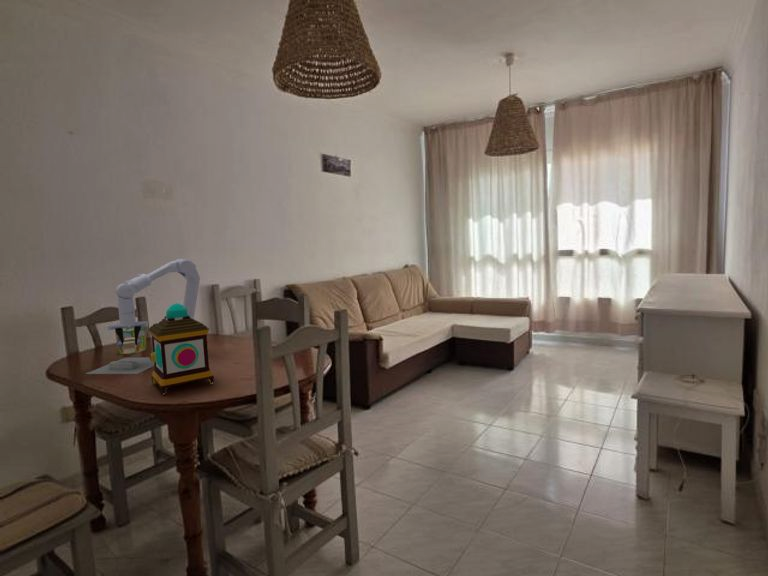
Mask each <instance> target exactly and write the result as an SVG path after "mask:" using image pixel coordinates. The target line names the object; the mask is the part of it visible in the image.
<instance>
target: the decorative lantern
mask: <svg viewBox="0 0 768 576" xmlns="http://www.w3.org/2000/svg"><path fill="white" fill-rule="evenodd" d="M194 319H195V318H194ZM194 319H192V318H190V316H189V315H188V313H187V309H186V308H185V307H184V306H183V304H181V303H179V302H175V303H173V304H171V305H170V306H169V307H168V308H167V310H166V315H165V316H164V318H162V319H161V320H160V321H159V322H158V323H156V322H155V323H154V324H153V323H152V325H151V326H150V327H149V328H147V330H148V333H149V335H150V336H151V345H152V352H151V353H150V354H149V357H150V360H151V361H152V362H154V366H153V367H154V369H153V371H152V374H151V382H152V384H153V383H156V384H157V385H158V386H159V388H160V391H161V392H160V393H161V395H162V394H163V393H166V394H167V389H168V388H170V387H175V386H181V385H185V384H190V383H195V382H200V381H203V380H208V383H209V382H210V383H212V382H214V383H215V378H214V374H213V372H212V370H211V369H210V364H209V353H208V352H209V350H210V344H209V341H208V333H209V332H210V328H209V327H207V325H206V324H204V323H203V322H200V321H198V320H196V319H195V320H194Z"/></svg>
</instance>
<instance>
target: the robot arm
mask: <svg viewBox="0 0 768 576" xmlns="http://www.w3.org/2000/svg"><path fill="white" fill-rule="evenodd" d="M170 273H178V274H179V275H181V276H182V277H183V278H184V279H185V280H186V285H185V291H184V297H183V304H182V305H183V306H184V307H185V308H186V309H187V313H188V315H189V316H190V318H192V319H194V320H196V319H195V312H196V307H197V300H198V293H199V288H200V287H199V286H200V279H201V277H200V274H199V272H198V270H197V265H196V264H195V263H194V262H193V261H192V260H191V259H188V258H177V259H175V260H172V261H169V262H168V263H166V264H164V265H161V267H158V268H157V269H155V270H154V271H153V270H152V271H151V272H150V273H147V274H145V273H141V274H140V273H138V274H136V275H135V276H136V277H133V278H132V279H130V280H129V279H128V280H125V283H119V285H117V286H116V289H115V291H114V292H115V294H116V296H117V305H118V306H117V308H118V316H119V322H118V323H113V324H107V326H106V327H107V328H106V329H107V331H111V330H114V332H115V335H116V334H117V335H118V337H119V338H120V340H121V343H122V346H123V342H124V337H123V329H124V328H133V327H134V334H135V345H137V340H138V335H139V332H140V330H141V328H146V327H149V321H148V320H147V321H136V312H135V311H136V310H135V301H134V295H135V294H136V293H137V294H138V293H139V292H142V290H145V289H147V288H148V287H151V285H152V282H153V281H155V280H157V279H159V278H161V277H163V276H165V275H167V274H170ZM127 326H128V327H127Z"/></svg>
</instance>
